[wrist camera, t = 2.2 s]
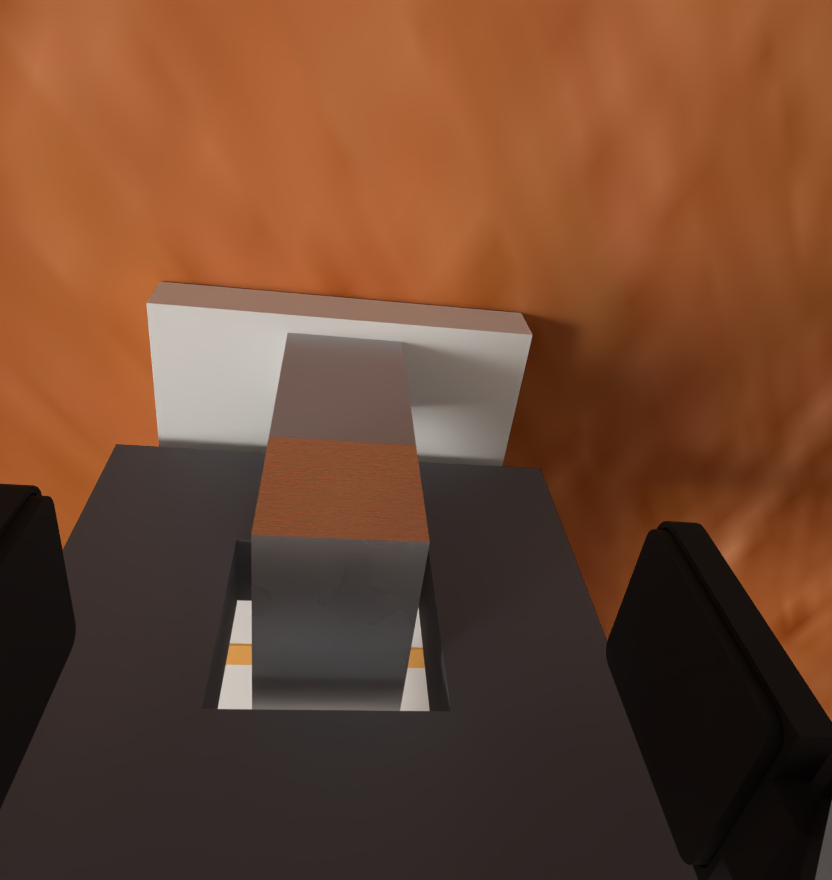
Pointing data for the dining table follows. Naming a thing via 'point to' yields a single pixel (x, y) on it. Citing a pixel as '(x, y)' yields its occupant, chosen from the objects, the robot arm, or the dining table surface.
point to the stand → (331, 392)
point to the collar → (329, 731)
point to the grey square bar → (335, 574)
